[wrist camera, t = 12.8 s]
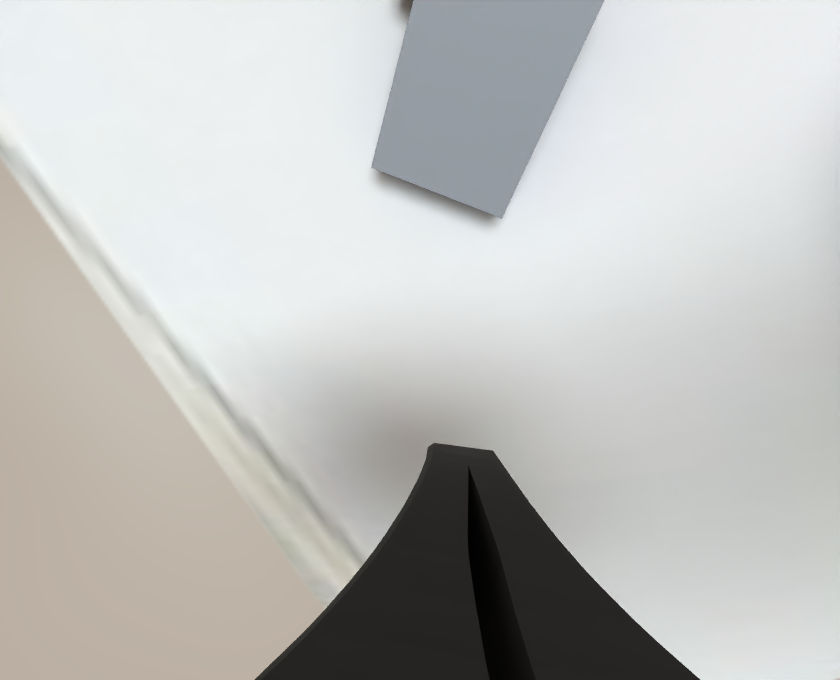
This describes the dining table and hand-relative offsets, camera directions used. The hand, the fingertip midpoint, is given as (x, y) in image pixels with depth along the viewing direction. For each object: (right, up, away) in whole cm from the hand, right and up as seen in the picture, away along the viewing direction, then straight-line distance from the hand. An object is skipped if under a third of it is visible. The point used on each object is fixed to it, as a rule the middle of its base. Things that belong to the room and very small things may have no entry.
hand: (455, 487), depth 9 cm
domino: (0, +9, +7) cm, 11 cm away
